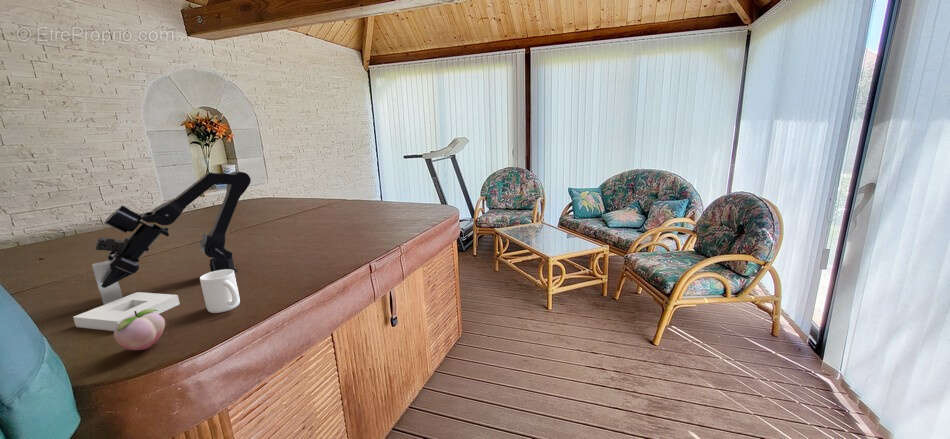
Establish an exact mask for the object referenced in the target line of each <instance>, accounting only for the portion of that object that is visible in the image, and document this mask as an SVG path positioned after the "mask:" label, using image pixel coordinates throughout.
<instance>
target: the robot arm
mask: <svg viewBox="0 0 950 439" xmlns="http://www.w3.org/2000/svg"><path fill="white" fill-rule="evenodd" d="M251 180H252V179H251V177H250V175H249V174H248V173H246V172H243V171H238V170H237V171H232V172H231V173H224V172H223V173H222V172H221V173H219V172H206V173H204V175H203V176H202V177H200V178H199V179H198V180H196V181H195V182H194V183H192V184H191V185H190V186H189V187H187V188H186V189H185V190H184V191H182V192H181V193H180V194H178V195H177V196H176V197H174V198H173V199H171V200H167V201H166V202H163V203H161V204H160V205H158V206H157V207H155V208H153V209H152V211H149V212H144V213H141V214H139V213H137V212H135V211H133V210H131V209H130V208H128V207H126V206H125V205H121V206H119V208H117V209H116V210H115V211H114V212H111V214H110V215H108V217H107V218H106V219H105V221H104V222H103V223H104V224H105V225H107V226H110V227H111V228H114V229H116V230H118V231H120V232H123V233H124V234H125V233H127V232H131V233H132V232H133V233H132V234H131V235H130V236H129V237H125V238H124V239H123V240H119V239H115V238H109V237H100V236H99V237H98V238H97V241H96V243H95V246H94V249H95V250H97V251H108V254H107V258H108V261H110V260H112V261H111V263H109V264H110V268H111V271H110V272H109V274H108V275H107V277H106V279H105V280H104V282H103V284H102V285H101V287H103V288H106V287H108V286H110V285H112V284H114V283H115V282H117V281H118V282H119V281H122V280H123V279H125V278H127V277H129V276H132V275H134V274H136V273H137V272H138V271H139V269H140V266H139V263H138V262H139V261H140V258H141V257H143V255H144V254H145V252H149V250H150V247H151V246H152V245H153V243H155V241H156V240H157V239H158V238H159V237H160V236H161V235H164V236H166V237H170V234H169V228H168V227H167V226H169V225H171V224H173V223H174V222H175V221H176V220H177V219H178V218H179V217H180V215H181V214H182V213H183V211H184V210H185V209H186V208H187V207H188V206H189V205H190V204H192V203H194V201H195V200H197V198H199V197H200V196H201V195H203V194H205V192H206V191H208V190H209V189H211V187H213V186H214V185H216V184H217V185H226V194H225V195H224V198H223V201H222V204H221V205H220V209H219V211H218V214H217V216H216V219H215V221H214V224H213V226H212V229H211V230H210V231H209V232H208V233H202V236H201V237H202V238H201V240H200V242H198V244H199V245H200V251H201V252H202V253H203V254H204V255H206V256H207V258H208V257H209V258H211V259H209V270H210V272H213V271H217V270H224V269H231V270H234V273H236V272H237V271H238V268H235V263H234V258H233V253H232V252H231V251H230V250H228V249H227V248H226V247H225V246H226V233H227V231H228V227H229V225H230V223H231V220H232V218H233V215H234V213H235V210H236V208H237V205H238V202H239V200H240V198H241V197H242V195H243V194H244V193H245V192H246V191H247V189H248V187H250V184H251V183H252V182H251ZM149 223H151V224H149ZM162 226H166V227H162Z"/></svg>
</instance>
